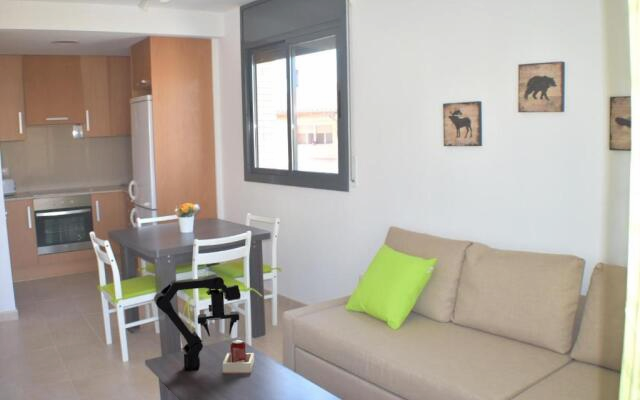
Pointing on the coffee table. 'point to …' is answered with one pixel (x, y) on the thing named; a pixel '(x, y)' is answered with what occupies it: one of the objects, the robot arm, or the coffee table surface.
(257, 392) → the coffee table surface
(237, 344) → the soda can
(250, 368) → the open box
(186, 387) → the coffee table surface
